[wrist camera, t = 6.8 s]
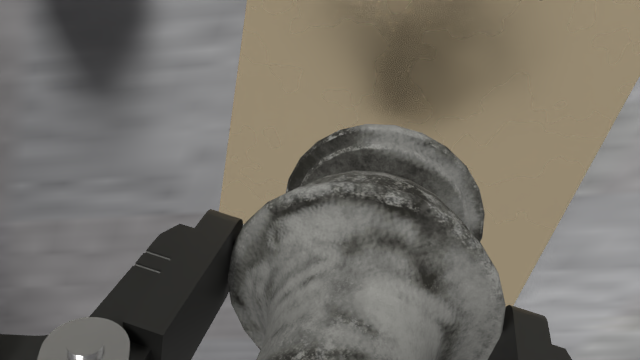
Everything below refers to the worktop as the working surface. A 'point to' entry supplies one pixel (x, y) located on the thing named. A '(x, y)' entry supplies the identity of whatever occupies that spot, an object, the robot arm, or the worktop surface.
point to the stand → (439, 98)
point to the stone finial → (370, 256)
